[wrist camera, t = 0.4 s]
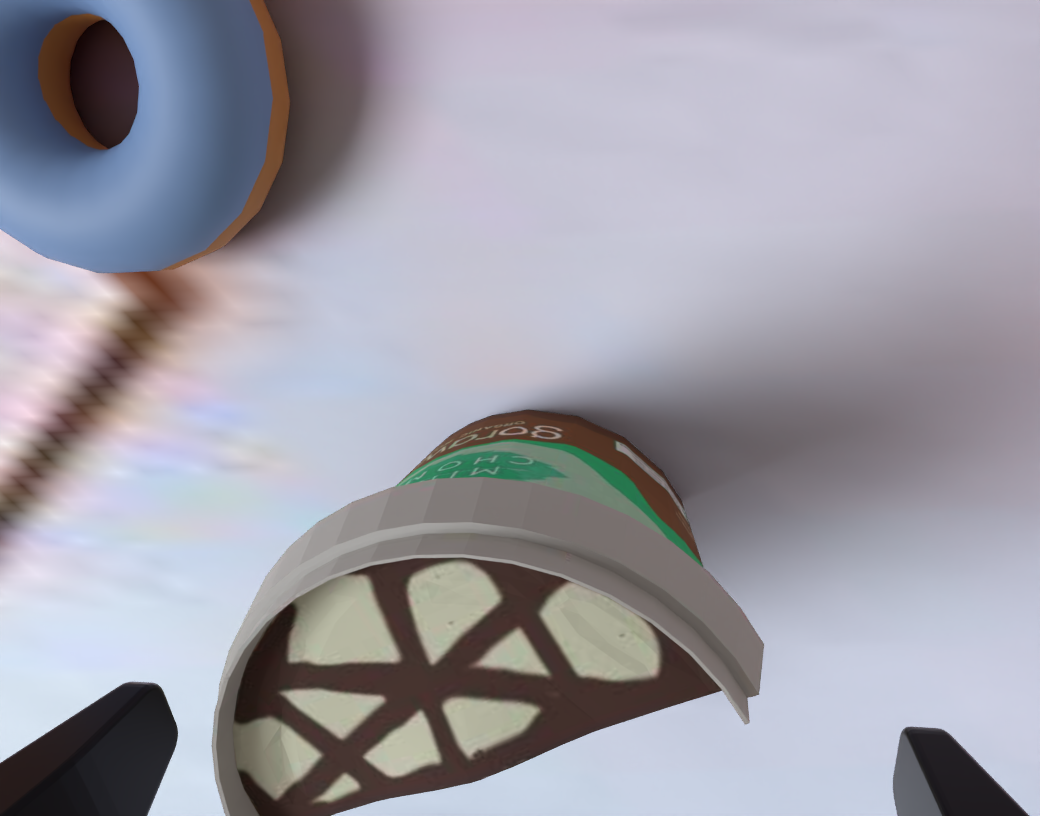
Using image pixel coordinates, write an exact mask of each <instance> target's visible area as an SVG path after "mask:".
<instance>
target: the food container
mask: <svg viewBox="0 0 1040 816" xmlns="http://www.w3.org/2000/svg"><path fill="white" fill-rule="evenodd" d="M763 649H764V644H763V642H762V640H761V639H760V637H759V636H758V634H757V633H756V631H755V630H754V628H753V626H752V625H751V623H750V622H749V620H748V619H747V617H746V616H745V614H744V613H743V611H742V609H741V608H740V607H739V606H738V605H737V603H736V602H735V601H734V600H733V599H732V598H731V597H730V596H729V594H728V593H727V592H726V591H725V590H724V589H723V588H722V587H721V585H720V584H719V583H718V582H717V581H716V580H715V579H714V578H713V576H712V575H711V574H710V573H709V572H708V571H707V570H705V569H704V568H703V565H702V562H701V559H700V556H699V552H698V549H697V546H696V543H695V540H694V537H693V534H692V531H691V528H690V525H689V522H688V519H687V516H686V513H685V510H684V507H683V504H682V501H681V500H680V498H679V496H678V495H677V493H676V492H675V490H674V489H673V487H672V486H671V484H670V482H669V481H668V479H667V478H666V476H665V475H664V473H663V472H662V470H661V469H659V468H658V467H657V466H656V465H655V464H654V463H653V462H651V461H650V460H649V459H648V458H647V457H646V456H645V455H644V454H642V453H641V452H640V451H639V450H638V449H637V448H636V447H634V446H633V445H632V444H631V443H630V442H629V441H628V440H627V439H625V438H624V437H622V436H620V435H618V434H616V433H614V432H611V431H609V430H607V429H605V428H603V427H600V426H598V425H596V424H594V423H592V422H589V421H587V420H585V419H583V418H581V417H578V416H573V415H565V414H558V413H550V412H542V411H535V410H523V411H517V412H511V413H505V414H498V415H492V416H489V417H487V418H484V419H481V420H479V421H476V422H473V423H471V424H469V425H467V426H465V427H464V428H462V429H460V430H459V431H457V432H455V433H453V434H452V435H450V436H449V437H448V438H447V439H446V440H445V441H443V442H442V443H441V444H440V445H439V446H438V447H436V448H435V449H434V450H433V451H432V452H431V453H430V454H429V455H428V456H427V457H426V458H425V459H424V460H423V461H422V462H421V463H420V464H418V465H417V466H416V467H415V468H414V469H413V470H412V471H411V472H410V473H409V474H408V475H407V476H406V477H405V478H404V479H403V480H402V481H401V482H400V483H399V484H398V485H397V486H395V487H392V488H389V489H386V490H384V491H381V492H378V493H376V494H373V495H370V496H367V497H365V498H362V499H359V500H357V501H354V502H352V503H350V504H348V505H347V506H345V507H343V508H341V509H340V510H338V511H336V512H335V513H333V514H331V515H329V516H328V517H326V518H324V519H323V520H321V521H319V522H317V523H316V524H315V525H314V526H313V527H312V528H311V529H309V530H308V531H307V532H306V533H305V534H304V535H302V536H301V537H300V538H299V539H298V540H297V541H296V542H294V543H293V544H292V545H291V546H290V547H289V548H288V549H287V550H286V551H285V553H284V554H283V555H282V557H281V558H280V559H279V560H278V562H277V563H276V564H275V565H274V567H273V568H272V569H271V571H270V572H269V573H268V574H267V576H266V577H265V579H264V581H263V583H262V585H261V587H260V589H259V591H258V593H257V595H256V597H255V599H254V601H253V603H252V605H251V607H250V609H249V611H248V613H247V615H246V617H245V619H244V621H243V623H242V625H241V627H240V629H239V631H238V633H237V635H236V638H235V640H234V642H233V644H232V646H231V648H230V650H229V653H228V656H227V660H226V663H225V666H224V670H223V673H222V677H221V680H220V684H219V694H218V701H217V705H216V708H215V712H214V725H213V737H212V753H213V762H214V772H215V780H216V784H217V788H218V791H219V795H220V798H221V802H222V805H223V809H224V813H225V815H226V816H331V815H334V814H336V813H340V812H343V811H346V810H350V809H353V808H356V807H359V806H363V805H366V804H369V803H373V802H376V801H380V800H385V799H389V798H395V797H400V796H406V795H412V794H418V793H423V792H429V791H435V790H440V789H445V788H449V787H454V786H458V785H462V784H468V783H472V782H475V781H478V780H481V779H484V778H486V777H489V776H491V775H494V774H496V773H499V772H501V771H504V770H506V769H509V768H511V767H514V766H516V765H518V764H520V763H523V762H525V761H527V760H529V759H532V758H534V757H536V756H538V755H540V754H543V753H545V752H547V751H549V750H551V749H554V748H556V747H558V746H560V745H563V744H565V743H568V742H570V741H572V740H575V739H577V738H580V737H582V736H584V735H587V734H589V733H592V732H594V731H597V730H600V729H603V728H606V727H609V726H612V725H615V724H618V723H621V722H625V721H628V720H631V719H634V718H637V717H640V716H643V715H646V714H649V713H652V712H655V711H658V710H661V709H664V708H667V707H671V706H674V705H677V704H680V703H683V702H687V701H690V700H693V699H696V698H700V697H703V696H706V695H709V694H712V693H716V692H719V691H723V692H724V694H725V695H726V697H727V698H728V700H729V701H730V703H731V704H732V706H733V707H734V709H735V710H736V712H737V713H738V715H739V716H740V718H741V719H742V721H743V722H744V724H748V723H750V722H749V711H748V701H747V698H748V697H753V696H756V695H759V689H760V679H761V669H762V659H763Z"/></svg>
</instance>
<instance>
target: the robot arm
mask: <svg viewBox="0 0 1040 816" xmlns="http://www.w3.org/2000/svg"><path fill="white" fill-rule="evenodd" d="M177 737H178V729H177V725H176V722H175V720H174V717H173V715H172V712H171V710H170V707H169V705H168V702H167V699H166V697H165V694H164V692H163V690H162V688H161V687H160V686H159V685H157V684H155V683H147V682H127V683H125V684H122V685H121V686H119V687H117V688H116V689H114V690H113V691H111V692H110V693H108V694H106V695H105V696H103V697H102V698H100V699H99V700H97V701H96V702H94V703H93V704H91V705H89V706H88V707H86V708H85V709H83V710H82V711H80V712H79V713H77V714H75V715H74V716H72V717H71V718H69V719H68V720H66V721H65V722H63V723H62V724H60V725H58V726H57V727H55V728H54V729H52V730H51V731H49V732H48V733H46V734H44V735H43V736H41V737H40V738H38V739H37V740H35V741H34V742H32V743H31V744H29V745H27V746H26V747H24V748H23V749H21V750H20V751H18V752H17V753H15V754H13V755H12V756H10V757H9V758H7V759H6V760H4V761H3V762H1V763H0V816H147V815H148V812H149V810H150V808H151V805H152V803H153V800H154V798H155V795H156V793H157V791H158V788H159V786H160V783H161V781H162V779H163V776H164V774H165V771H166V769H167V767H168V764H169V762H170V759H171V757H172V755H173V752H174V750H175V747H176V743H177ZM893 793H894V800H895V806H896V810H897V815H898V816H1029V815H1028V814H1027V813H1026V812H1025V811H1024V810H1023V809H1022V808H1021V807H1020V806H1019V805H1018V804H1017V803H1016V802H1015V800H1014V799H1013V798H1012V797H1011V796H1010V795H1009V794H1008V793H1007V792H1006V791H1005V790H1004V789H1003V788H1002V787H1001V786H1000V785H999V784H998V783H997V782H996V781H995V780H994V779H993V778H992V777H991V776H990V775H989V774H988V773H987V772H986V771H985V770H984V769H983V768H982V767H981V766H980V765H979V764H978V763H977V762H976V760H975V759H974V758H973V757H972V756H971V755H970V754H969V753H968V752H967V751H966V750H965V749H964V748H963V747H962V746H961V745H960V744H959V743H958V742H957V741H956V740H955V739H954V738H953V737H952V736H951V735H950V734H949V733H947V732H946V731H944V730H942V729H938V728H923V727H906V728H905V729H903V731H902V733H901V735H900V740H899V746H898V752H897V758H896V764H895V770H894V776H893Z"/></svg>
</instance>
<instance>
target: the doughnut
mask: <svg viewBox="0 0 1040 816" xmlns="http://www.w3.org/2000/svg"><path fill="white" fill-rule="evenodd" d="M99 20H107V21H108V22H110V23H111V24H112V25H113V26H114V27H115V29H116V30H117V31H118V32H119V33H120V34H121V36H122V37H123V38H124V40H125V42H126V45H127V47H128V49H129V51H130V53H131V55H132V57H133V59H134V64H135V69H136V74H137V79H138V84H139V95H138V110H137V115H136V117H135V120H134V123H133V125H132V128H131V130H130V133H129V134H128V135H127V137H126V138H125V139H124V140H123V141H122V142H121V143H120V144H118V145H116V146H114V147H113V148H111V149H108V148H106V147H105V146H103V145H102V144H100V143H99V142H97V141H96V140H95V139H94V138H93V136H92V135H91V134H90V133H89V132H88V131H87V130H86V128H85V126H84V124H83V122H82V120H81V118H80V116H79V114H78V113H77V111H76V109H75V106H74V101H73V97H72V93H71V88H70V61H71V58H72V55H73V52H74V49H75V46H76V43H77V40H78V39H79V38H80V36H81V35H82V34H83V33H84V31H85V30H86V29H87V27H89V26H90V25H92V24H94V23H96V22H97V21H99ZM289 109H290V98H289V91H288V85H287V78H286V71H285V64H284V58H283V51H282V44H281V39H280V37H279V35H278V32H277V30H276V28H275V26H274V23H273V21H272V19H271V16H270V14H269V12H268V10H267V7H266V5H265V3H264V0H0V229H1V230H2V231H4V232H6V233H7V234H9V235H10V236H12V237H13V238H15V239H16V240H18V241H19V242H21V243H22V244H24V245H26V246H27V247H29V248H30V249H32V250H33V251H35V252H36V253H38V254H40V255H42V256H44V257H46V258H49V259H52V260H55V261H59V262H62V263H66V264H69V265H72V266H76V267H79V268H83V269H86V270H90V271H93V272H96V273H122V272H141V271H160V270H170V269H175V268H178V267H180V266H182V265H184V264H187V263H189V262H191V261H193V260H196V259H198V258H200V257H202V256H205V255H207V254H209V253H211V252H214V251H216V250H218V249H220V248H221V247H223V246H225V245H226V244H227V243H228V242H229V241H230V240H231V239H232V238H233V237H234V236H235V235H236V234H237V233H238V232H239V231H240V230H241V229H242V228H243V227H244V226H245V225H246V224H247V223H248V222H249V221H250V220H251V219H252V218H253V217H254V216H255V215H256V214H257V213H258V212H259V211H260V209H261V207H262V205H263V203H264V201H265V198H266V196H267V194H268V192H269V190H270V188H271V186H272V183H273V181H274V179H275V177H276V175H277V173H278V171H279V168H280V166H281V164H282V162H283V155H284V147H285V140H286V132H287V124H288V117H289Z"/></svg>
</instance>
